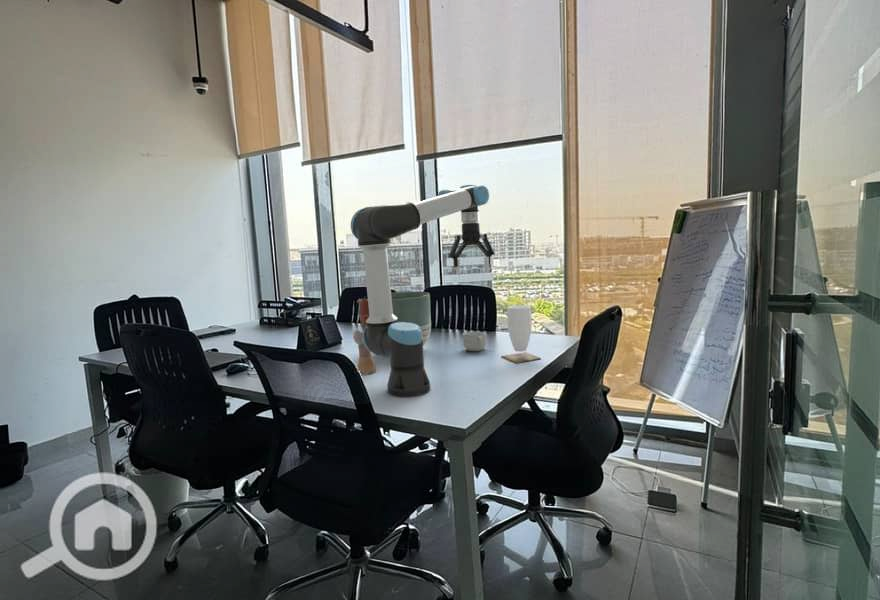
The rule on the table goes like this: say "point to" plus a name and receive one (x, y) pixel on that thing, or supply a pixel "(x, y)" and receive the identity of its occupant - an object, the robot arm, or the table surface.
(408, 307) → the planter
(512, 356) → the coaster
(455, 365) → the table surface
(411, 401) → the table surface
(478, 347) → the teacup
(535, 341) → the table surface
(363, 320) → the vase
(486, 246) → the robot arm
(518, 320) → the cup
